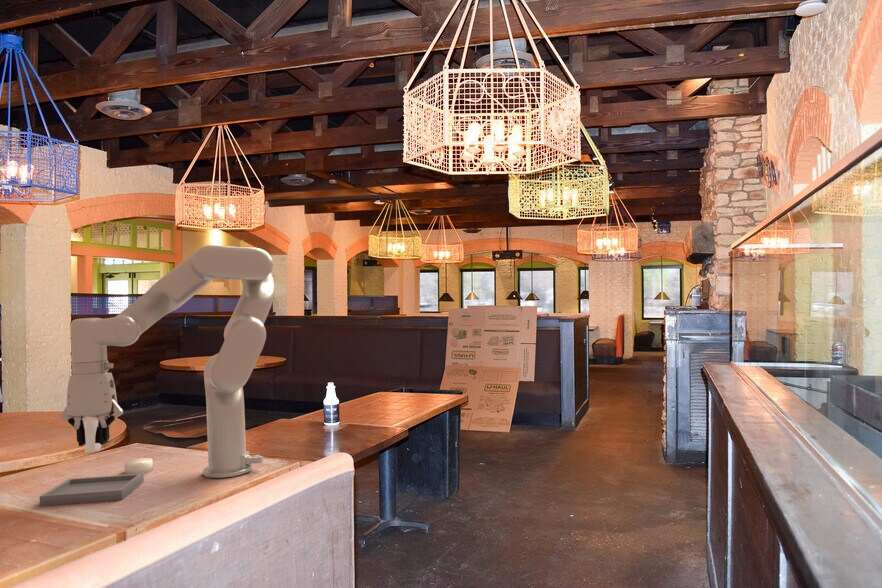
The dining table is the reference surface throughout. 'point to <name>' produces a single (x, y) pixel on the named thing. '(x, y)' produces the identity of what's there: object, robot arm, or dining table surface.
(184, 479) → the dining table surface
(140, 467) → the cream domed disc
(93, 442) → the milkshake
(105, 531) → the dining table surface
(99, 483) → the grey tray
